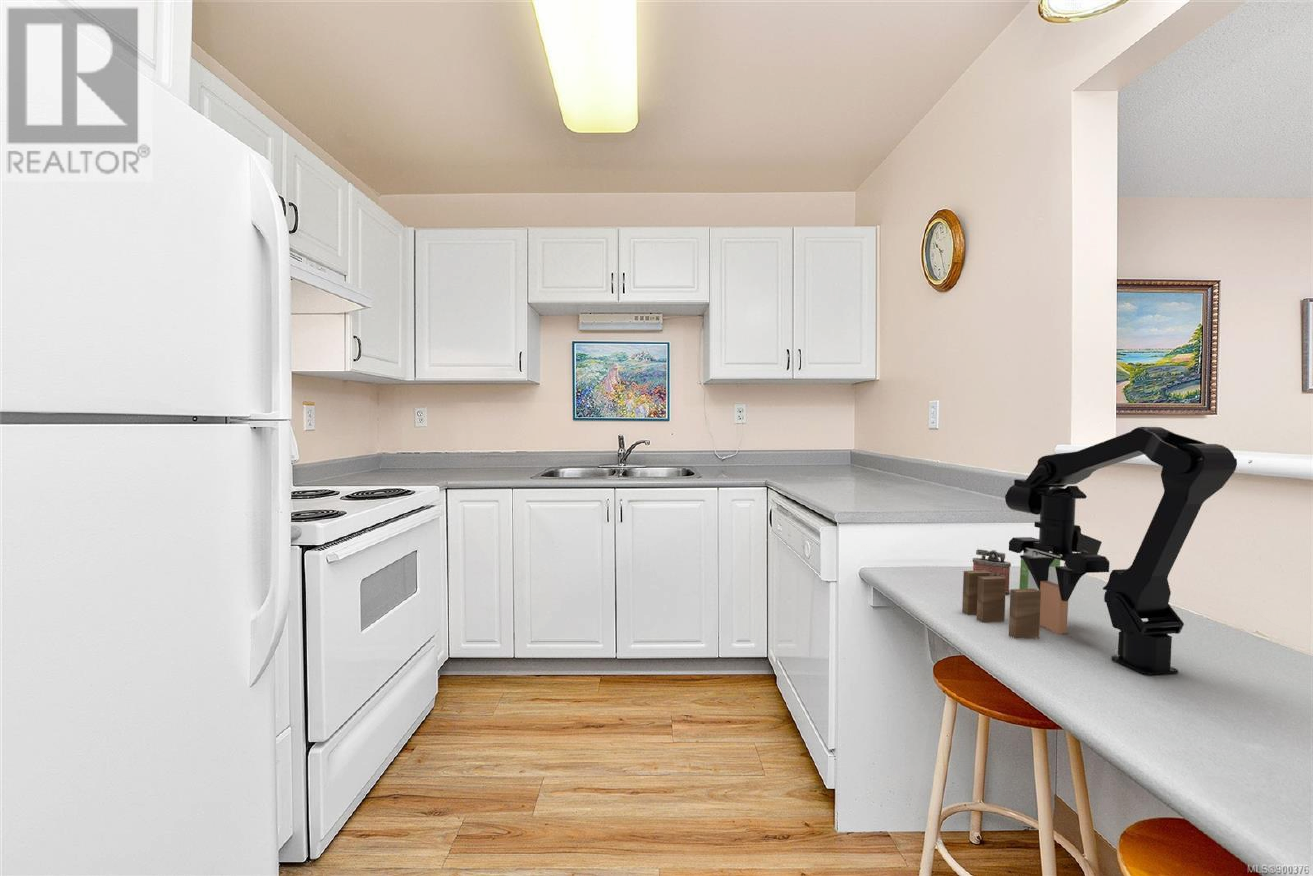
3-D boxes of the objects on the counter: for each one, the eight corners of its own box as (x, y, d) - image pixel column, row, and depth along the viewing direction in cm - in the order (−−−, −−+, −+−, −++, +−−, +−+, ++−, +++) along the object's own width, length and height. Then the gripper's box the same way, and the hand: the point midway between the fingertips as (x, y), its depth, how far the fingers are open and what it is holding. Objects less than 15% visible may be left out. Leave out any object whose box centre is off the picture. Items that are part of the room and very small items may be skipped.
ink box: (1049, 597, 140) (1052, 540, 139) (1059, 602, 136) (1061, 544, 135) (1018, 596, 141) (1020, 539, 140) (1027, 601, 137) (1029, 543, 136)
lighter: (1009, 592, 143) (1011, 551, 143) (1009, 595, 140) (1011, 554, 140) (972, 586, 148) (973, 547, 147) (970, 590, 145) (972, 549, 144)
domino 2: (1004, 621, 122) (1006, 578, 122) (982, 622, 122) (984, 579, 121) (998, 618, 124) (999, 576, 124) (976, 619, 123) (978, 576, 123)
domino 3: (1039, 637, 114) (1040, 591, 113) (1015, 639, 113) (1017, 592, 112) (1031, 634, 115) (1033, 588, 115) (1008, 635, 115) (1010, 589, 114)
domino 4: (1046, 624, 121) (1048, 580, 121) (1066, 633, 116) (1068, 588, 116) (1038, 624, 121) (1040, 581, 120) (1058, 633, 116) (1060, 588, 115)
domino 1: (988, 614, 127) (990, 572, 127) (967, 615, 126) (969, 573, 126) (983, 611, 129) (984, 570, 128) (962, 612, 128) (963, 571, 128)
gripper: (1137, 527, 110) (1133, 610, 110) (1054, 510, 128) (1051, 582, 129) (1084, 527, 108) (1080, 612, 108) (1008, 511, 126) (1005, 583, 127)
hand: (1053, 596), depth 118 cm, fingers closed on domino 4, 5 cm apart
